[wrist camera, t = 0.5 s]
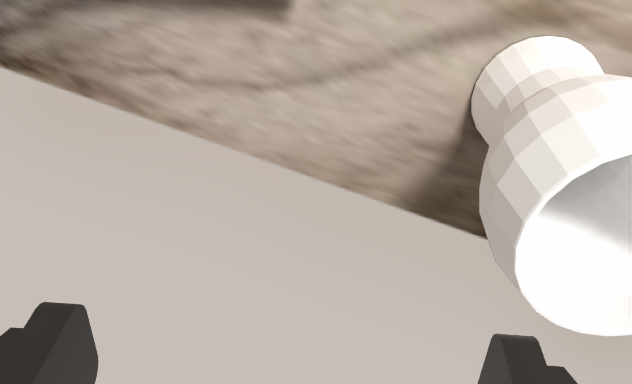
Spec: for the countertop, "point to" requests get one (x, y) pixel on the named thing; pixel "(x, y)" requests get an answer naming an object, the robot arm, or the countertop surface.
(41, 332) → the robot arm
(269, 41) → the countertop surface
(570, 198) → the white vase
